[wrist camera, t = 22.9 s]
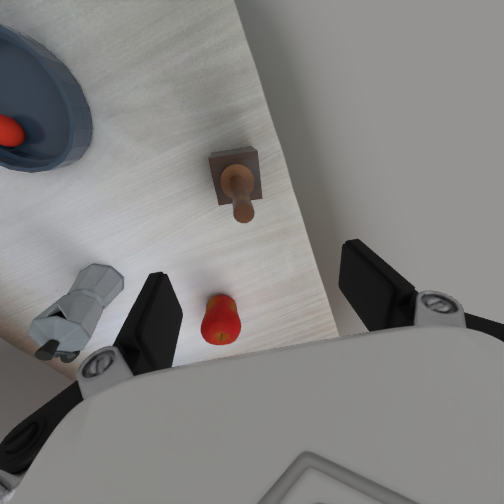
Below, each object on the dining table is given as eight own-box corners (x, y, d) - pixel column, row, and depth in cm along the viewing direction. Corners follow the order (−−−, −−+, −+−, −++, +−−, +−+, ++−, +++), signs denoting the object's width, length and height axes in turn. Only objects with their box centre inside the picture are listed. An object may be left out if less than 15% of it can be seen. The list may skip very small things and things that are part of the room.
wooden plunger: (216, 166, 31) (211, 192, 19) (250, 160, 31) (266, 182, 19) (224, 199, 34) (223, 241, 22) (255, 194, 34) (272, 232, 22)
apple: (203, 314, 55) (199, 356, 45) (204, 288, 51) (198, 329, 41) (237, 314, 56) (240, 355, 46) (240, 289, 52) (244, 328, 42)
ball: (-7, 143, 28) (1, 154, 31) (30, 135, 30) (34, 146, 33) (-34, 110, 27) (-22, 125, 30) (7, 105, 29) (14, 119, 32)
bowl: (-79, 37, 27) (-138, 20, 22) (53, 19, 27) (21, -1, 23) (12, 173, 35) (-17, 180, 31) (113, 158, 35) (97, 162, 31)
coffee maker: (77, 251, 43) (-7, 323, 27) (125, 259, 45) (72, 330, 29) (83, 306, 50) (20, 387, 34) (125, 310, 52) (82, 389, 36)
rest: (211, 152, 36) (208, 158, 30) (252, 146, 37) (257, 150, 31) (219, 193, 40) (218, 205, 34) (256, 187, 40) (262, 198, 34)
